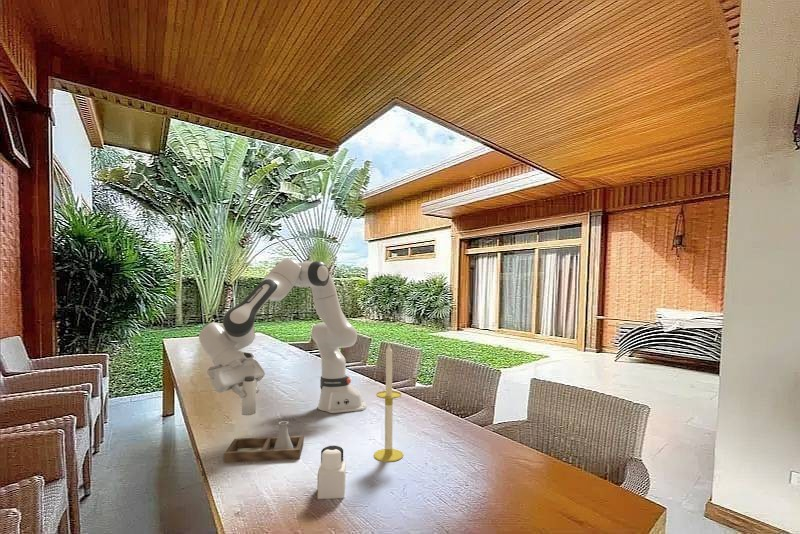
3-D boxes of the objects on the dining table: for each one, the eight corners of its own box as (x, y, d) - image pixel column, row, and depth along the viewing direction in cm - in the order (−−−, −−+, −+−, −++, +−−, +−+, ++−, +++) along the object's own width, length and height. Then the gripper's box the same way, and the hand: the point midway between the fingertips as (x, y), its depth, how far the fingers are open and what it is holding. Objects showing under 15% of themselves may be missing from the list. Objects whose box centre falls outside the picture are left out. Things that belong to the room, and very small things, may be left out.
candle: (380, 464, 130) (381, 346, 132) (369, 452, 139) (370, 341, 141) (408, 458, 134) (409, 344, 136) (395, 447, 144) (396, 340, 145)
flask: (287, 457, 135) (288, 427, 135) (267, 455, 136) (268, 425, 137) (297, 449, 142) (297, 419, 142) (278, 447, 143) (278, 418, 144)
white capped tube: (255, 410, 141) (256, 375, 142) (255, 414, 137) (256, 378, 137) (242, 411, 140) (243, 375, 140) (241, 415, 136) (242, 378, 136)
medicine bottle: (320, 486, 116) (320, 443, 116) (345, 485, 117) (345, 442, 117) (317, 499, 109) (317, 454, 109) (344, 498, 109) (344, 453, 110)
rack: (303, 444, 146) (303, 435, 146) (299, 459, 134) (299, 449, 134) (234, 447, 143) (234, 438, 143) (224, 462, 131) (224, 453, 131)
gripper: (210, 362, 132) (232, 396, 128) (255, 352, 151) (275, 382, 147) (199, 374, 134) (221, 408, 130) (245, 363, 153) (265, 393, 148)
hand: (250, 394), depth 138 cm, fingers closed on white capped tube, 4 cm apart
